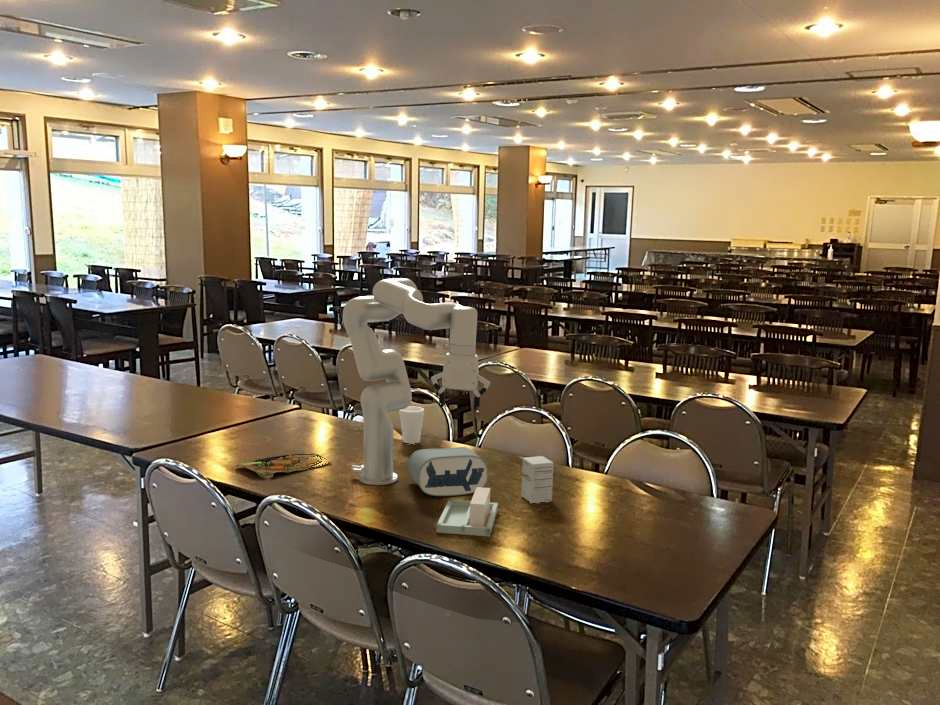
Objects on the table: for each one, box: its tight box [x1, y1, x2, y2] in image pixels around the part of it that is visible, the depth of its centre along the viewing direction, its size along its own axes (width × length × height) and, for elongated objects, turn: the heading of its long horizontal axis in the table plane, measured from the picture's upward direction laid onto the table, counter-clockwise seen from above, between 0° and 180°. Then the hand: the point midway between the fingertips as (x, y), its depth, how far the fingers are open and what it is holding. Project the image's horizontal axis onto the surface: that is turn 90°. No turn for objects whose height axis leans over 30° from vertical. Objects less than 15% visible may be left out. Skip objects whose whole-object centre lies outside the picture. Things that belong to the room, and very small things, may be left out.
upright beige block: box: [470, 487, 491, 527], centre depth 225 cm, size 4×14×7 cm, turn 172°
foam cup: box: [398, 405, 425, 445], centre depth 303 cm, size 10×9×13 cm
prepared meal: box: [235, 452, 333, 478], centre depth 271 cm, size 28×4×18 cm
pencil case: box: [407, 446, 489, 497], centre depth 253 cm, size 22×19×13 cm
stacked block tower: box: [520, 455, 554, 505], centre depth 244 cm, size 7×7×13 cm
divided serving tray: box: [436, 498, 499, 537], centre depth 225 cm, size 15×20×2 cm
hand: (459, 407), depth 231 cm, fingers open, 9 cm apart
